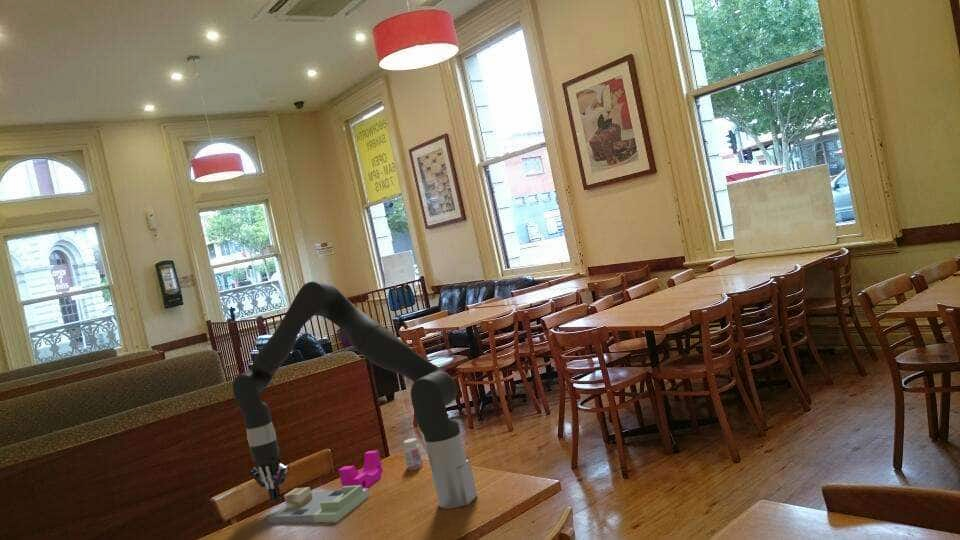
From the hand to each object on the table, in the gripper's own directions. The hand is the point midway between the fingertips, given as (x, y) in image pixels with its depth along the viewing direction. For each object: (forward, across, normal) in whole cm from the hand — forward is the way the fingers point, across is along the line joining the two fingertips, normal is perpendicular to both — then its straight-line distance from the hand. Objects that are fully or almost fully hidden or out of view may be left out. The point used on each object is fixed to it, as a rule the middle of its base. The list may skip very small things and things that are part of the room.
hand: (276, 500), depth 190 cm
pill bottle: (+4, -29, -30) cm, 41 cm away
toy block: (+4, -18, -18) cm, 26 cm away
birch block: (+1, -8, 0) cm, 8 cm away
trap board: (+4, -15, 0) cm, 15 cm away
